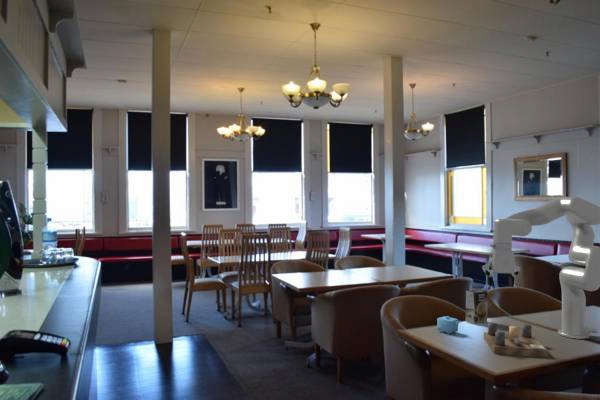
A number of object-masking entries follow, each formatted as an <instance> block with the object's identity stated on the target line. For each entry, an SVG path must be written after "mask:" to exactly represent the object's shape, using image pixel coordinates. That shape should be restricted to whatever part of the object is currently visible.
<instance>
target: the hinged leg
mask: <svg viewBox="0 0 600 400" xmlns="http://www.w3.org/2000/svg"><path fill="white" fill-rule="evenodd" d="M508 328H509V329H508V330H509V331H508V334H509V339H511V340H513V341H514V342H515V344H516V345H522V341H519V333H520V330H519V327H518V326H515V325H511V326H510V325H509V326H508Z"/></svg>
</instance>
